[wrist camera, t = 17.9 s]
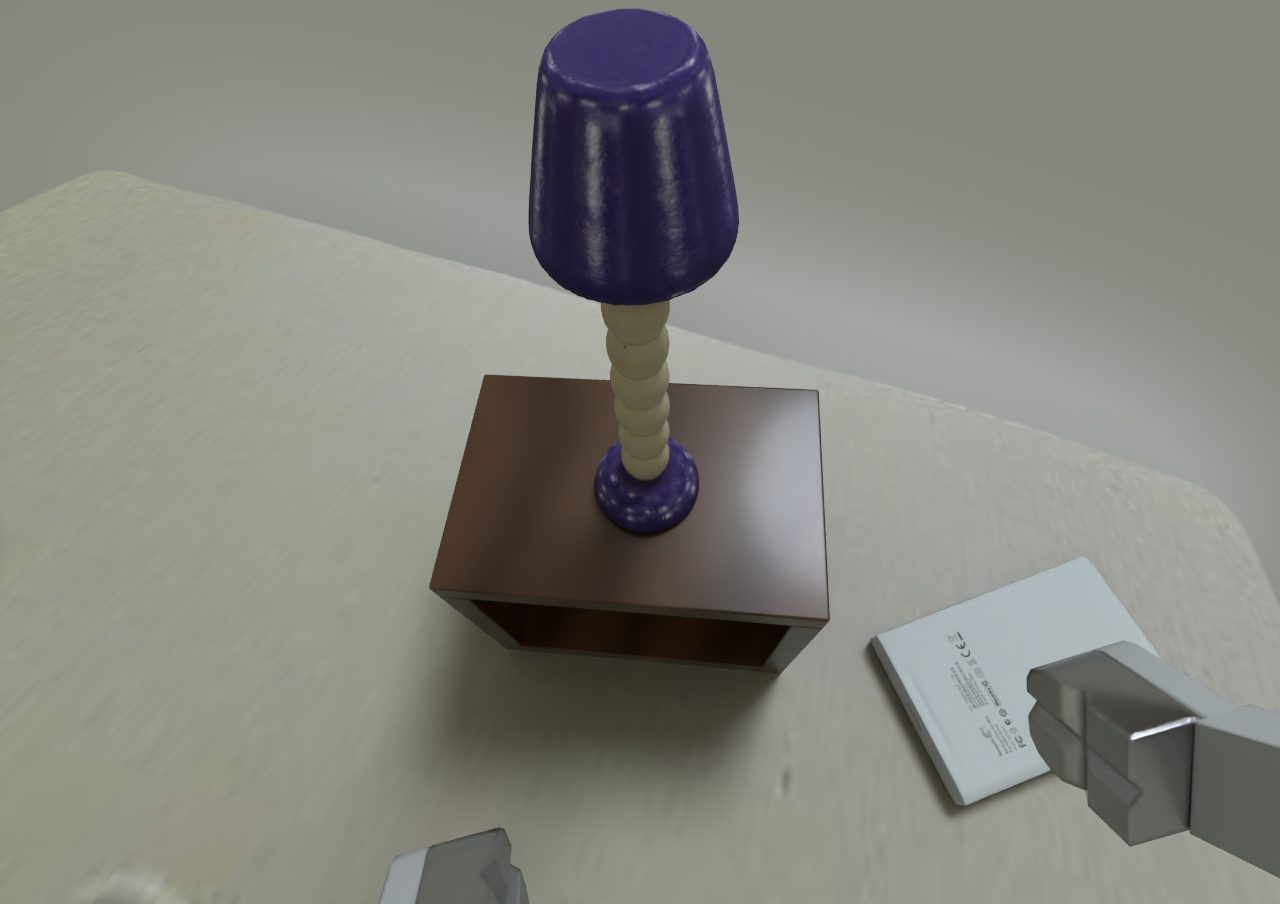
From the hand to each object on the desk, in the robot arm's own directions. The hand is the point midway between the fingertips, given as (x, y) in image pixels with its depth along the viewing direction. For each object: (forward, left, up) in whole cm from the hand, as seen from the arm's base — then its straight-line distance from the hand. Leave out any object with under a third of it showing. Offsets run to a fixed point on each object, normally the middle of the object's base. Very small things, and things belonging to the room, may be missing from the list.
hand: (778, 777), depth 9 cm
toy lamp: (-3, +11, -12) cm, 17 cm away
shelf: (-4, +10, -24) cm, 27 cm away
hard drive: (+16, +6, -24) cm, 30 cm away
